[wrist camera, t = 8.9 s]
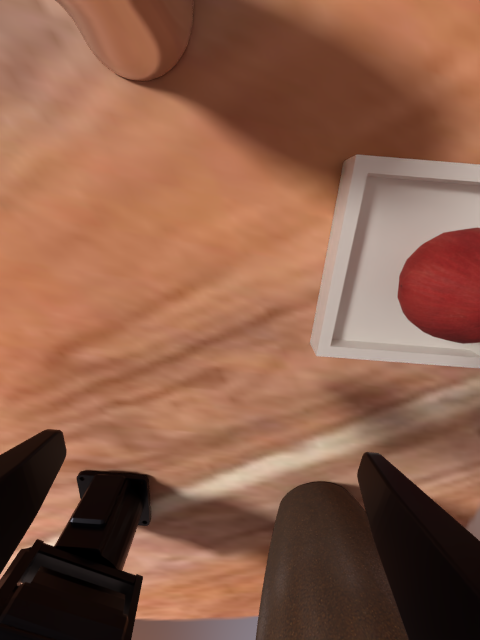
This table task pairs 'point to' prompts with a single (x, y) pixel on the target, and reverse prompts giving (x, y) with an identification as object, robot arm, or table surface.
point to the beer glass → (134, 33)
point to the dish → (389, 257)
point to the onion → (444, 286)
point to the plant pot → (325, 572)
